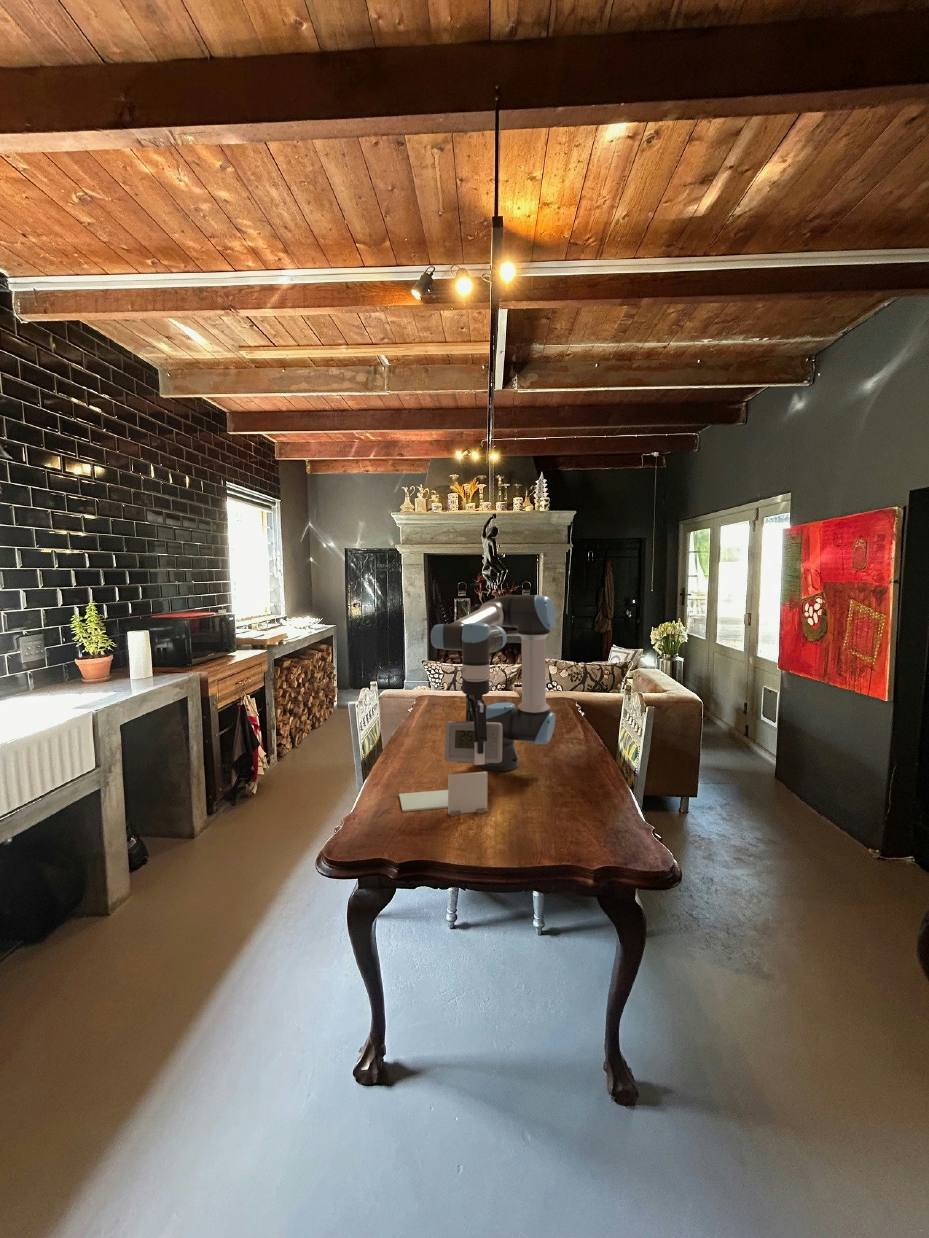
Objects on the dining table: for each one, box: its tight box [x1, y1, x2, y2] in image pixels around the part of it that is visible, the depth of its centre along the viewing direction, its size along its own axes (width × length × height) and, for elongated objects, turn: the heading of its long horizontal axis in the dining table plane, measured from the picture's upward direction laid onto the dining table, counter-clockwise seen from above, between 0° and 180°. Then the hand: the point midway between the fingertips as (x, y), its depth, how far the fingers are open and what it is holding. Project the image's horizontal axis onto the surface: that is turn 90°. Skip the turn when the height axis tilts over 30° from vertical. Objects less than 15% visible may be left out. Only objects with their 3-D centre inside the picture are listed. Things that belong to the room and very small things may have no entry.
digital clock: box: [444, 720, 503, 764], centre depth 149 cm, size 16×9×11 cm, turn 73°
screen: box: [447, 771, 488, 817], centre depth 163 cm, size 12×4×12 cm, turn 102°
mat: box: [398, 789, 448, 812], centre depth 171 cm, size 19×12×1 cm, turn 102°
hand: (475, 758), depth 150 cm, fingers closed on digital clock, 8 cm apart
